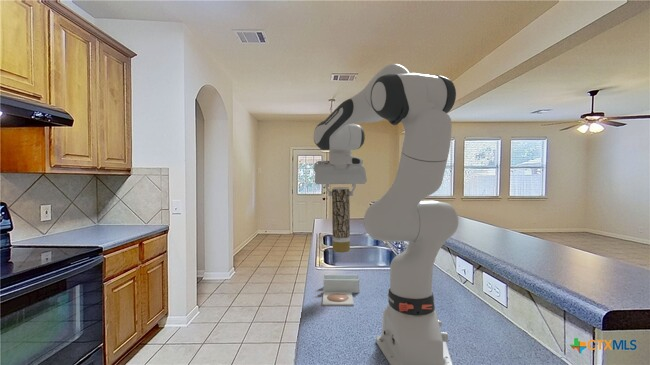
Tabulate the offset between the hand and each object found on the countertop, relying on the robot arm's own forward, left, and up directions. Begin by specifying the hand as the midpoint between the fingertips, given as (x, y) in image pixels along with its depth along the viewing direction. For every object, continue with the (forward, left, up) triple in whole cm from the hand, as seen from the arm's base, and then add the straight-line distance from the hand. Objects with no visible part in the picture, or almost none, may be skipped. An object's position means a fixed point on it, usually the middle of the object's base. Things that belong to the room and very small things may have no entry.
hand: (340, 195), depth 125 cm
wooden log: (0, 0, -22) cm, 22 cm away
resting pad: (-8, +1, -38) cm, 39 cm away
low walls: (+2, 0, -38) cm, 38 cm away
